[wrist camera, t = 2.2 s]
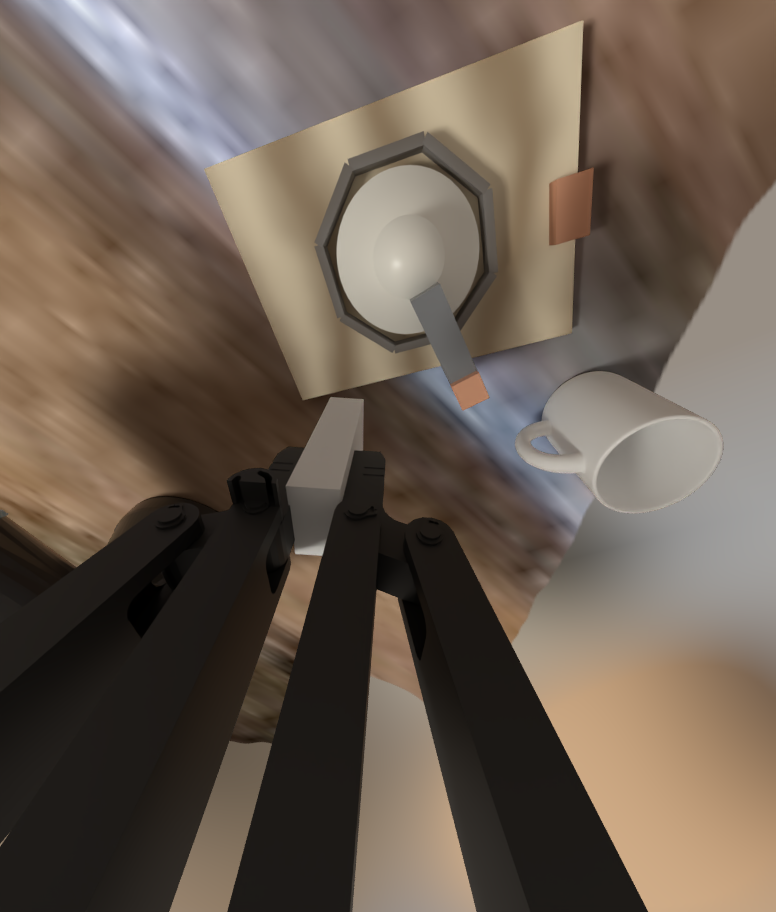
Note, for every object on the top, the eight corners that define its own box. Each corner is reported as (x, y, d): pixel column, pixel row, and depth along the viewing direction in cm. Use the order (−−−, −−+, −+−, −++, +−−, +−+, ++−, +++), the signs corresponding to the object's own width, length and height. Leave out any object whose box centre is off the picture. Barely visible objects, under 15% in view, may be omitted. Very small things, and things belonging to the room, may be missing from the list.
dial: (313, 229, 23) (283, 218, 17) (439, 132, 20) (456, 79, 14) (409, 400, 30) (412, 434, 24) (514, 345, 27) (547, 369, 21)
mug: (500, 457, 34) (536, 525, 25) (500, 384, 30) (543, 435, 21) (619, 440, 33) (701, 506, 24) (637, 360, 28) (744, 405, 20)
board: (305, 395, 31) (298, 407, 28) (212, 173, 22) (190, 162, 20) (570, 329, 27) (586, 335, 25) (580, 30, 18) (607, -4, 16)
